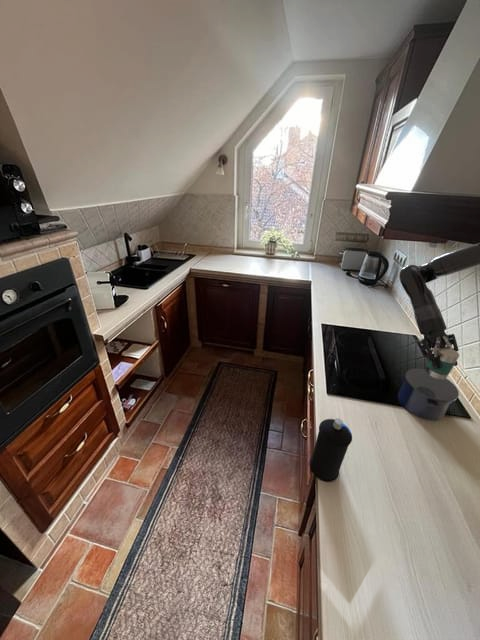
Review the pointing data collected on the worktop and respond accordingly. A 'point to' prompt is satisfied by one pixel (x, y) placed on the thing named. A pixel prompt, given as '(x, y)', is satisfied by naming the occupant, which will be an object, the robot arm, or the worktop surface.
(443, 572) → the worktop surface
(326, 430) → the aerosol can
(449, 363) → the tin can
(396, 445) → the worktop surface
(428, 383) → the pot
